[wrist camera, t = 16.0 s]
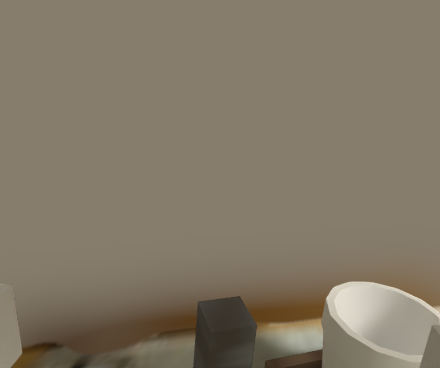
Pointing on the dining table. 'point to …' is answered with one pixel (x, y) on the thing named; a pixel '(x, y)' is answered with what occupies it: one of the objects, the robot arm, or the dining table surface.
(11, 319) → the robot arm
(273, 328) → the dining table surface
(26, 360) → the dining table surface
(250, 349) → the sliding frame
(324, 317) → the foam cup
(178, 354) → the dining table surface
